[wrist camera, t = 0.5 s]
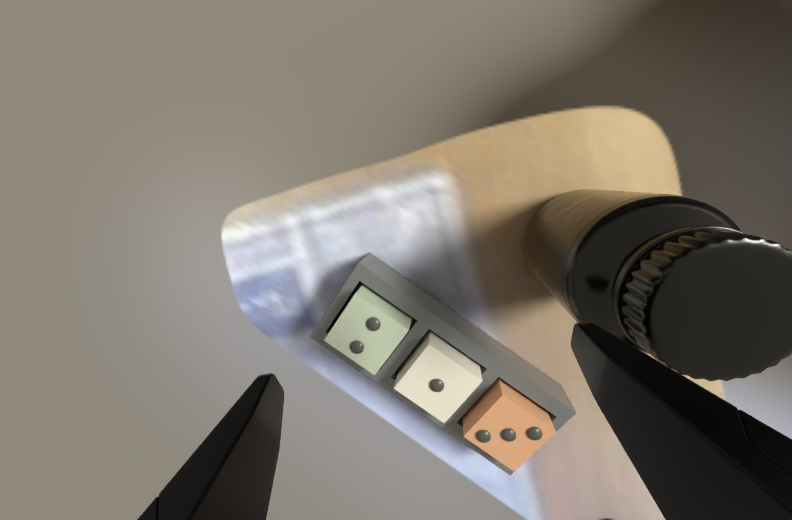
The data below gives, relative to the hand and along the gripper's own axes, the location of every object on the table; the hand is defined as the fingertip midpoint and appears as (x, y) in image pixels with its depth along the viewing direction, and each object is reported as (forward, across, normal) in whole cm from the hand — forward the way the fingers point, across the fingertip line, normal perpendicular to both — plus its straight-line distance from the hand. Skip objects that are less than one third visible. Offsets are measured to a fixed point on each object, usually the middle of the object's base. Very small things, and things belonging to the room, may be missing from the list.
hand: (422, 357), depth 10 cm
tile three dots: (+6, -5, +15) cm, 17 cm away
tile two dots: (+10, +3, +8) cm, 14 cm away
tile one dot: (+8, -1, +11) cm, 14 cm away
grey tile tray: (+10, -1, +12) cm, 16 cm away
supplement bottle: (+12, -11, +5) cm, 17 cm away
